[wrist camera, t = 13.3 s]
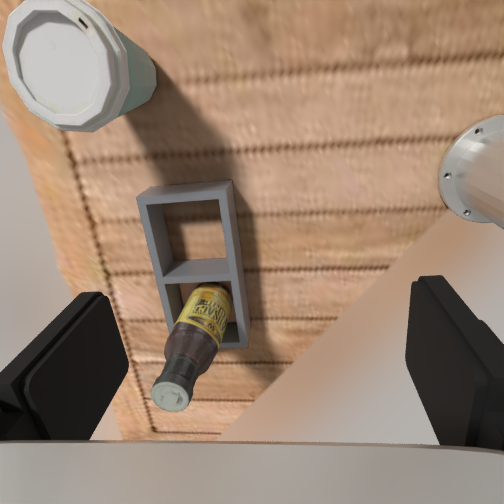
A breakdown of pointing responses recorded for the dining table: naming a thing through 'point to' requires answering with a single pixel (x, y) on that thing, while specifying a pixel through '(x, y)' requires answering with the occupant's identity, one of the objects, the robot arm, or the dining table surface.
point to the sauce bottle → (192, 345)
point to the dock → (199, 269)
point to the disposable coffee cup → (74, 65)
